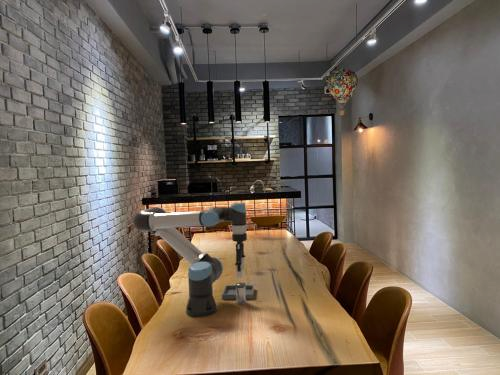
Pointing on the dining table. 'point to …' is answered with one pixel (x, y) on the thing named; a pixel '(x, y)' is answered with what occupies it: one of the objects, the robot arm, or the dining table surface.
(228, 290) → the tray
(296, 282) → the dining table surface
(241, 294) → the shaker
